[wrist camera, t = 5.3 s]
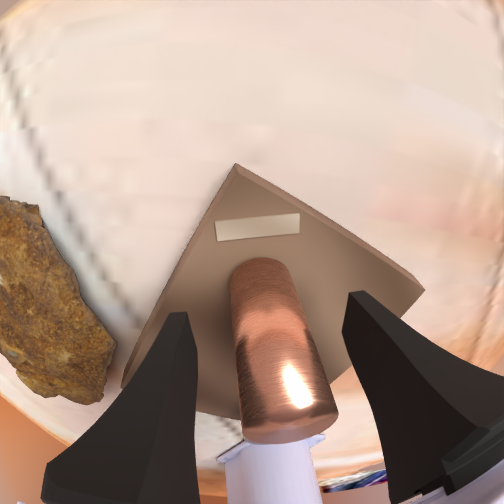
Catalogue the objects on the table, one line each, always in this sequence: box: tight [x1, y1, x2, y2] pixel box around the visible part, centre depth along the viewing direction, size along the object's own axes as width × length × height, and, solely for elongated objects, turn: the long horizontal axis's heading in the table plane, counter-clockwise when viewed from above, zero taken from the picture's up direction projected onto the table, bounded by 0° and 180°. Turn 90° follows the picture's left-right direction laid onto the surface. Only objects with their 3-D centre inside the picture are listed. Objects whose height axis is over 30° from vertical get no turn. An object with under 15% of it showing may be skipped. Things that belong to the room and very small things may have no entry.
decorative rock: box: [0, 196, 117, 405], centre depth 13 cm, size 11×4×15 cm
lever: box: [230, 257, 338, 445], centre depth 13 cm, size 14×4×6 cm, turn 3°
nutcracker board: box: [121, 163, 425, 420], centre depth 16 cm, size 15×12×2 cm
